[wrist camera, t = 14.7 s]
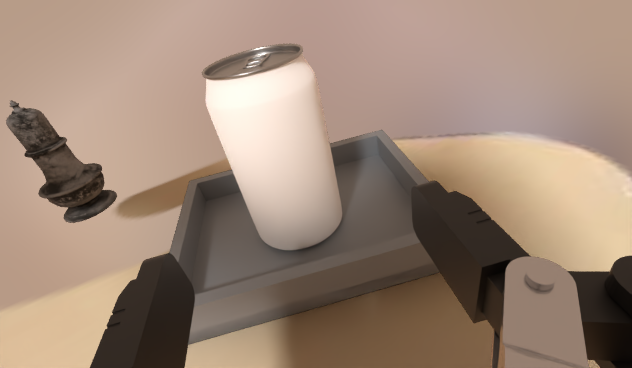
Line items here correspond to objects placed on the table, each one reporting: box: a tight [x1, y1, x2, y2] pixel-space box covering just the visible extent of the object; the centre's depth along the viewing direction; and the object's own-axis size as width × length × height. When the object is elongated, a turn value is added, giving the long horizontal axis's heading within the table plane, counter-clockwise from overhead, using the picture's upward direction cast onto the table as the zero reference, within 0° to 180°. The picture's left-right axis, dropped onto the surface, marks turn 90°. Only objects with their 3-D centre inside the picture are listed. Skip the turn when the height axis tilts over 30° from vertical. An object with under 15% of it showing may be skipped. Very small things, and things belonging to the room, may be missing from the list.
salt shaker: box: [6, 101, 117, 223], centre depth 31 cm, size 6×6×12 cm
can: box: [202, 44, 342, 251], centre depth 21 cm, size 6×6×12 cm
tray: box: [169, 130, 440, 345], centre depth 24 cm, size 18×14×3 cm
